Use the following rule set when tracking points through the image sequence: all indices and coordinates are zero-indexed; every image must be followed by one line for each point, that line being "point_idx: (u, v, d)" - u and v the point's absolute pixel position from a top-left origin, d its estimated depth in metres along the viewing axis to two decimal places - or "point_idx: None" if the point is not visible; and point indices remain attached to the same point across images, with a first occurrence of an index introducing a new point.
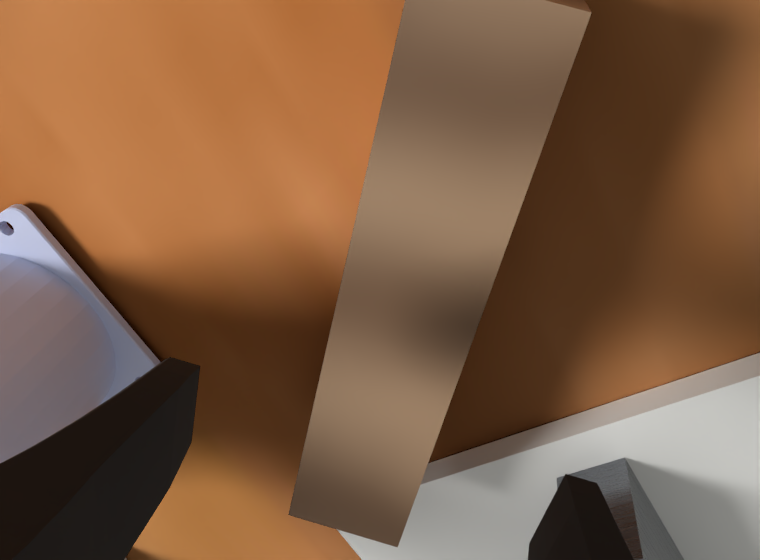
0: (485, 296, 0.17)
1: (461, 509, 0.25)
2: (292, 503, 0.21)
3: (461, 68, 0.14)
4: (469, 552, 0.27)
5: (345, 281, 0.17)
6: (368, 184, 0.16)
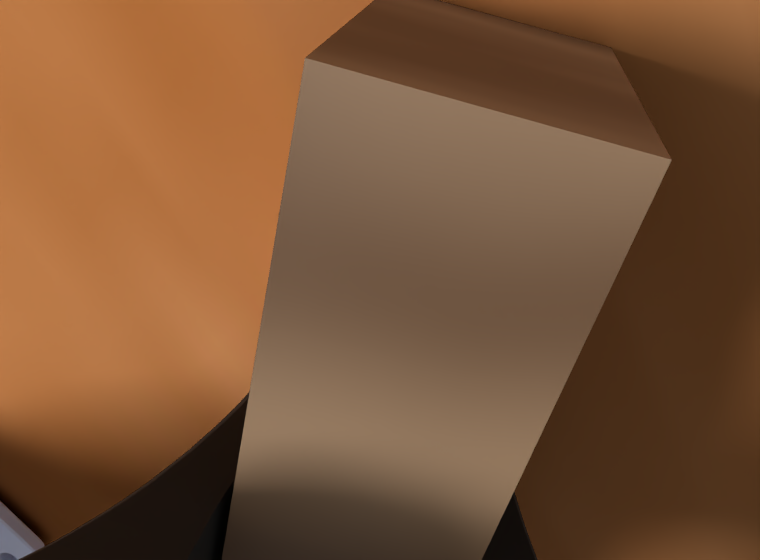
0: None
1: None
2: None
3: (409, 249, 0.07)
4: None
5: (230, 551, 0.10)
6: (253, 421, 0.09)
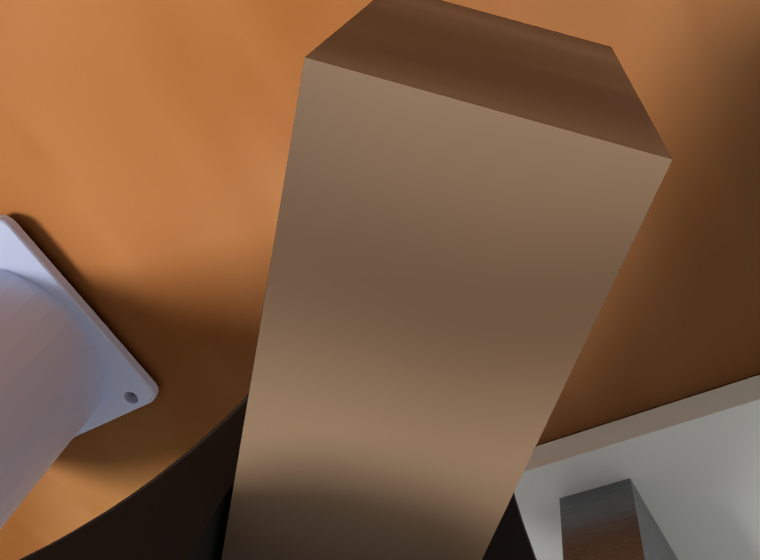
0: None
1: None
2: None
3: (409, 249, 0.07)
4: None
5: (229, 551, 0.10)
6: (253, 421, 0.09)
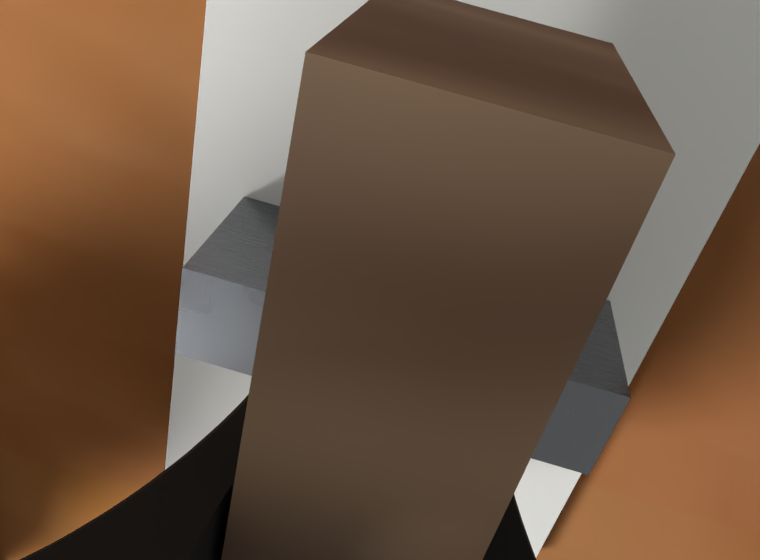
0: None
1: (225, 373, 0.22)
2: None
3: (410, 245, 0.07)
4: None
5: (229, 550, 0.10)
6: (253, 419, 0.09)
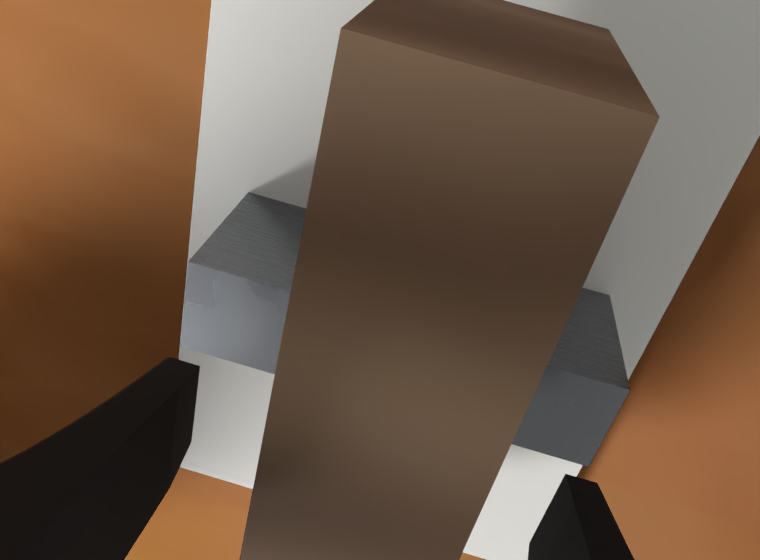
0: (471, 521, 0.11)
1: (228, 368, 0.22)
2: None
3: (429, 200, 0.08)
4: None
5: (259, 488, 0.11)
6: (285, 362, 0.10)
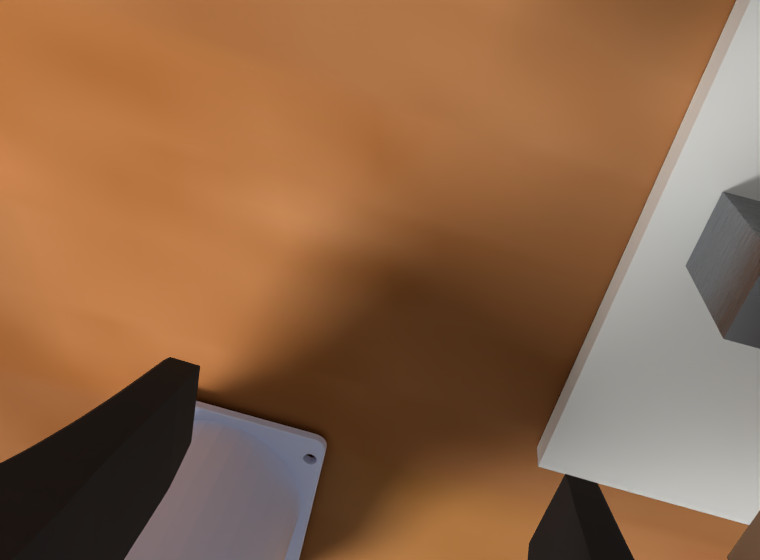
0: None
1: (639, 367, 0.22)
2: None
3: None
4: (692, 404, 0.23)
5: None
6: None
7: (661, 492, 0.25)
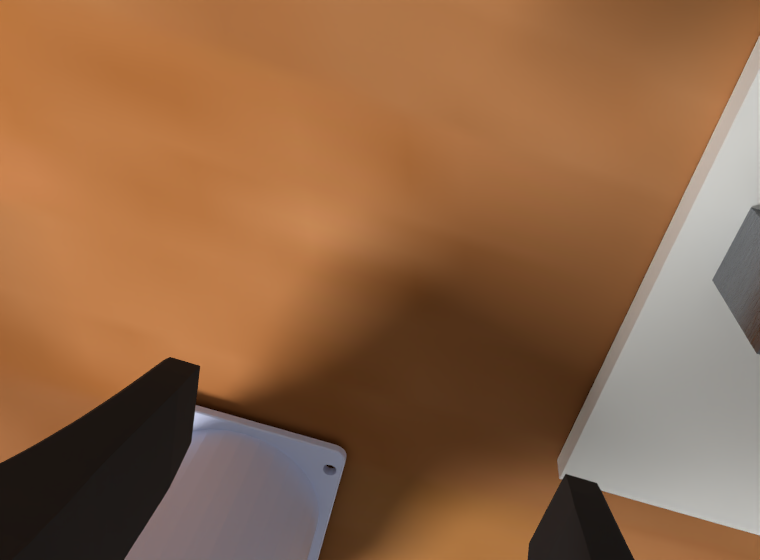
0: None
1: (663, 380, 0.23)
2: None
3: None
4: (715, 417, 0.23)
5: None
6: None
7: (682, 505, 0.25)
